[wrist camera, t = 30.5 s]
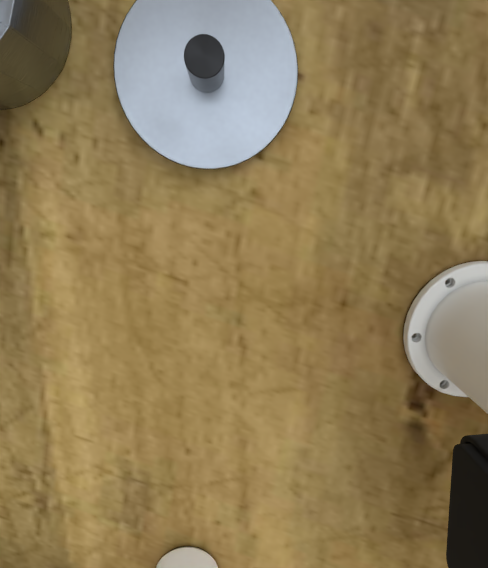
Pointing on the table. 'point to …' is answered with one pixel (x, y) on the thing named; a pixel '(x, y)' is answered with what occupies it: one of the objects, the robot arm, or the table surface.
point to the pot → (31, 48)
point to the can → (187, 559)
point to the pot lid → (206, 77)
